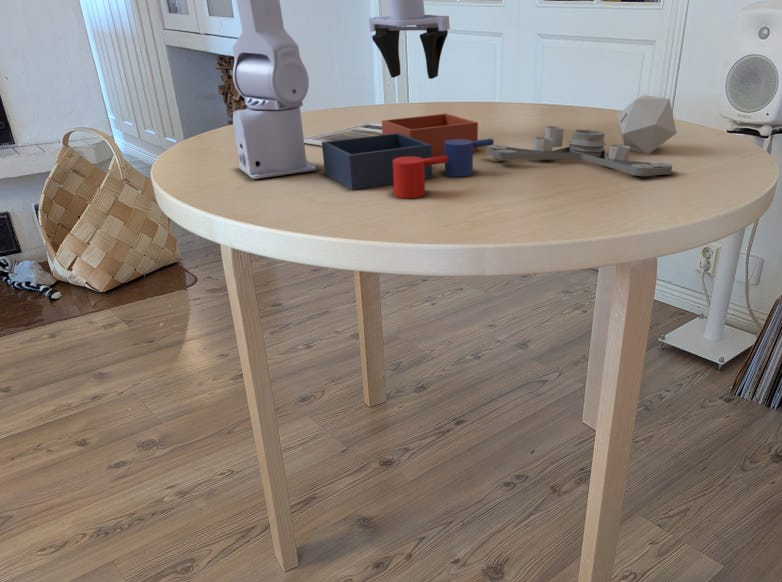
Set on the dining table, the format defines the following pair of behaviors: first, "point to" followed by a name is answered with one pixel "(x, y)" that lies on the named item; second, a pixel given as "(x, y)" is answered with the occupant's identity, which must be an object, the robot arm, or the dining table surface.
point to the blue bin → (370, 159)
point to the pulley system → (580, 152)
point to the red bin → (433, 130)
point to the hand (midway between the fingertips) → (414, 76)
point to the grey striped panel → (346, 133)
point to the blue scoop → (462, 156)
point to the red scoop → (412, 175)
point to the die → (646, 123)
